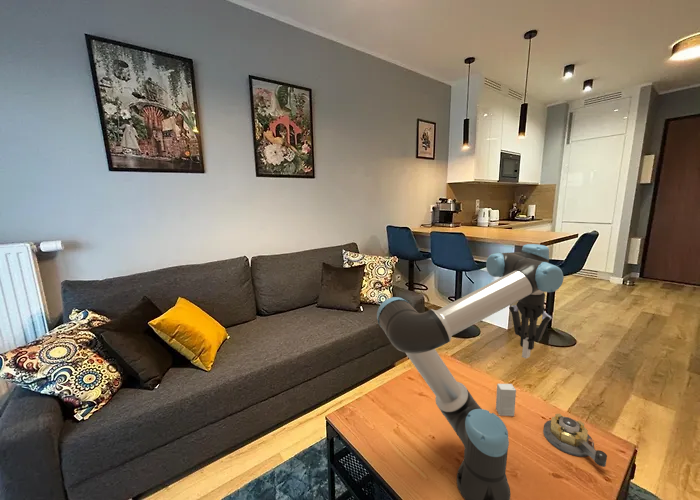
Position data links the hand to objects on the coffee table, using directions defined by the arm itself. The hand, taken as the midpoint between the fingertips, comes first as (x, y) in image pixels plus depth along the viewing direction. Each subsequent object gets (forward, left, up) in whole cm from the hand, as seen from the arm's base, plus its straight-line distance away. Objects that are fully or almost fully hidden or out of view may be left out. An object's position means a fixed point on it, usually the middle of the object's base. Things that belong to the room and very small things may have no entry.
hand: (525, 356), depth 104 cm
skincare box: (+11, +11, -35) cm, 38 cm away
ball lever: (+14, -14, -32) cm, 38 cm away
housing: (+16, -10, -34) cm, 39 cm away
